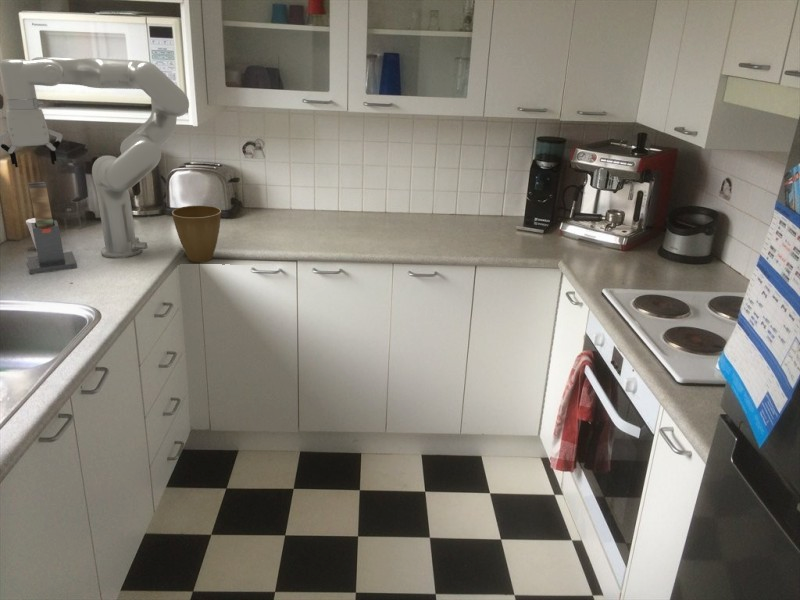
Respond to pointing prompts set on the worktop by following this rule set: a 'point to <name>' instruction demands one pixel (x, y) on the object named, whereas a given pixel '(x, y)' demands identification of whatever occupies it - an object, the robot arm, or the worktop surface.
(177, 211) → the plant pot
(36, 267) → the stand
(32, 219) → the smoothie
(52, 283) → the worktop surface
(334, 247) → the worktop surface
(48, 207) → the column
